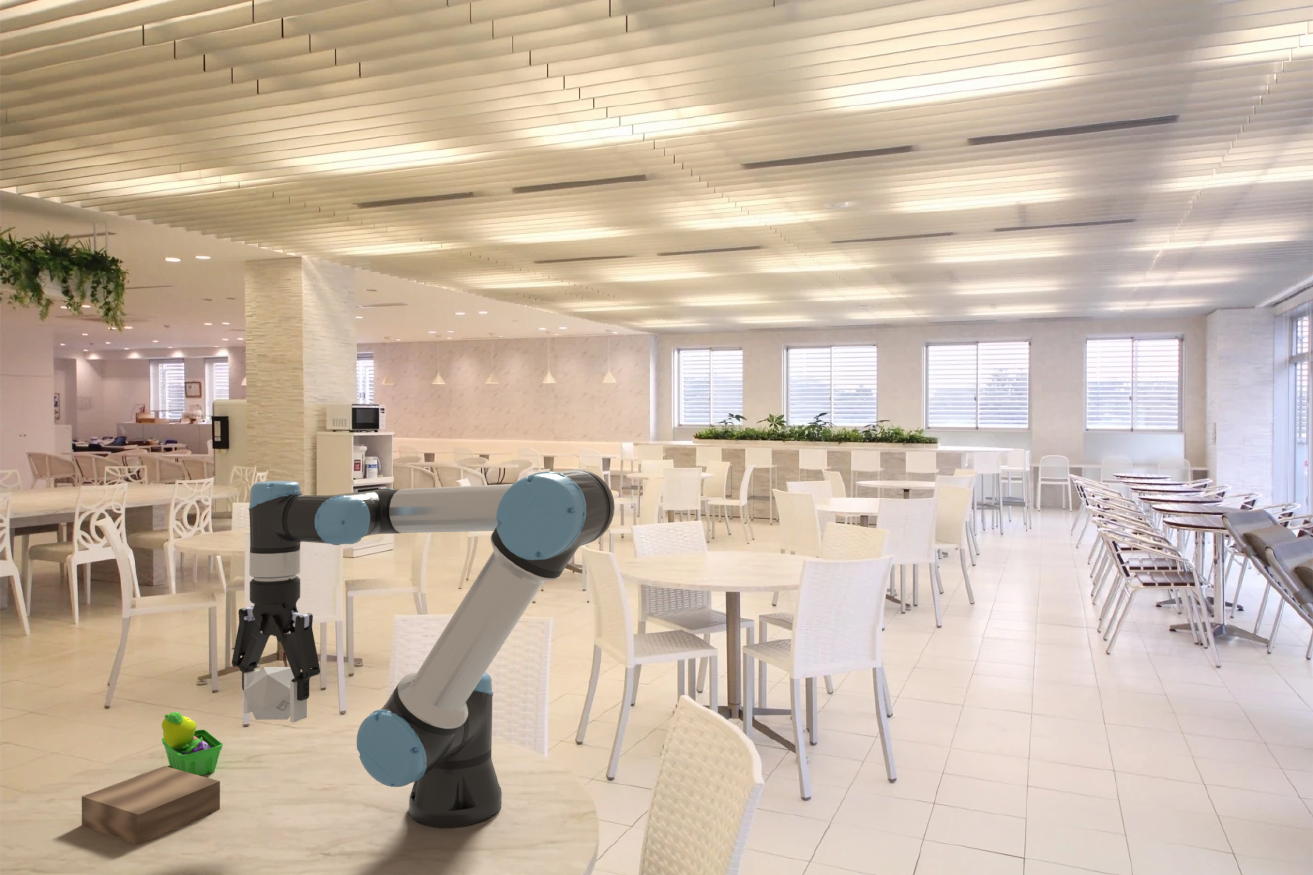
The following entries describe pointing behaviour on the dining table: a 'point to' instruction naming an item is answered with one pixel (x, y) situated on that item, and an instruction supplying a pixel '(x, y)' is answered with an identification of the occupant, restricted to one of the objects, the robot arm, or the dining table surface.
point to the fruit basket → (189, 745)
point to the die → (270, 693)
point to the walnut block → (150, 804)
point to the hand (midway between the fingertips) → (275, 715)
